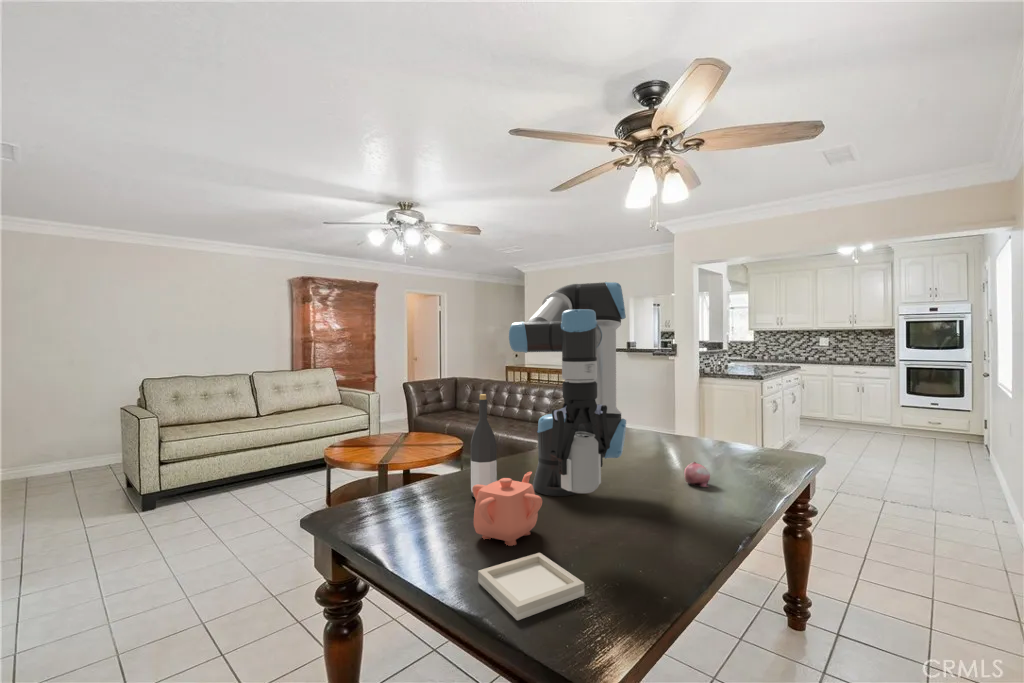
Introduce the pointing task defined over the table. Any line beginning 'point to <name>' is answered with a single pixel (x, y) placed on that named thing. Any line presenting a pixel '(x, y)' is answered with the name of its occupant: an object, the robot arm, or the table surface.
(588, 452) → the can
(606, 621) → the table surface
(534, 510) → the pink kettle
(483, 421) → the wine bottle
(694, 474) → the pomegranate
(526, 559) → the coaster
